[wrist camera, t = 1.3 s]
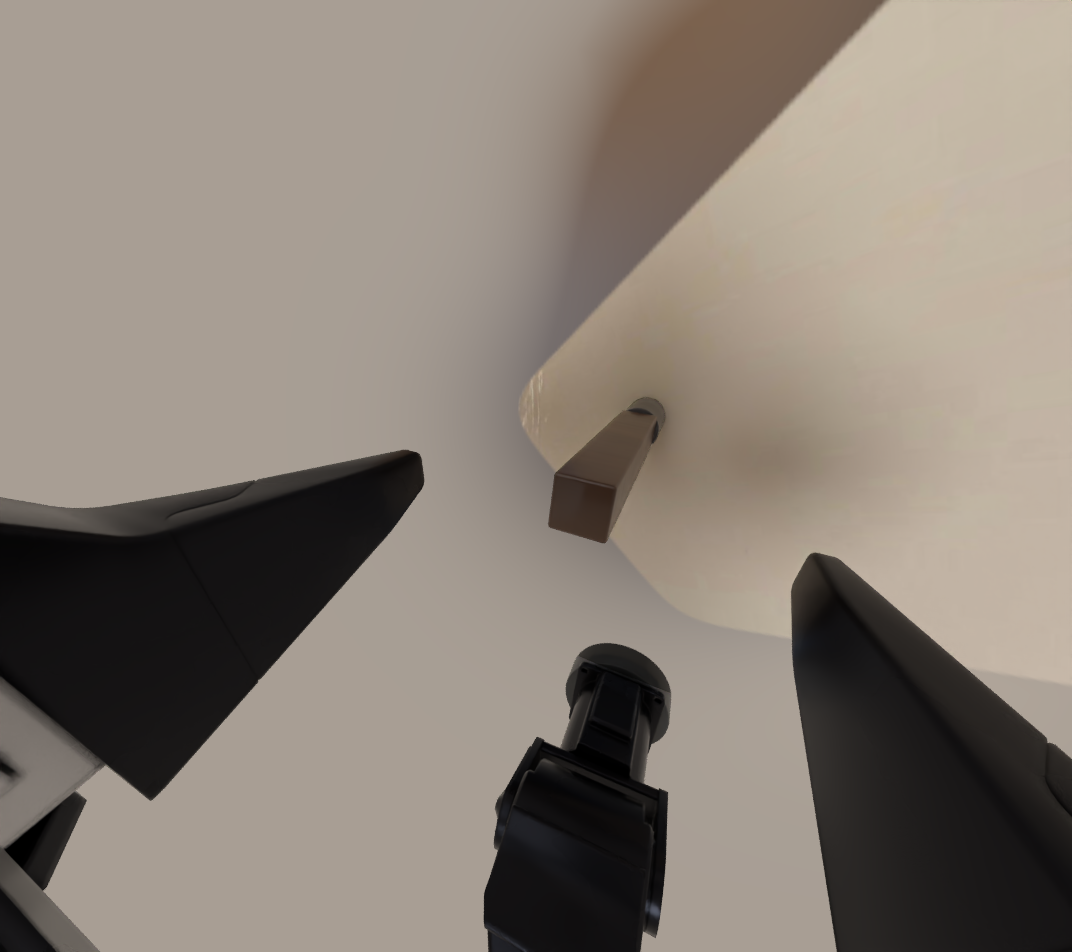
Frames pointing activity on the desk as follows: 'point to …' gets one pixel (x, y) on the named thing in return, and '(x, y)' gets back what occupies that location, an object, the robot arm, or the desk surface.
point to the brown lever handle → (604, 473)
